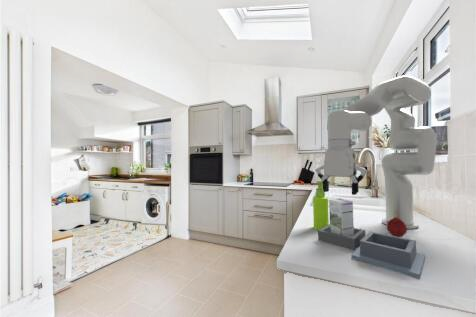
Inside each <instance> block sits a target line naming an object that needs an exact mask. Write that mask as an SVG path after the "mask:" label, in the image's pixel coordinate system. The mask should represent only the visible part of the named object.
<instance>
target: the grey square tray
mask: <svg viewBox="0 0 476 317" xmlns="http://www.w3.org/2000/svg"><path fill="white" fill-rule="evenodd" d="M365 236H366V229H361V228H357V227H354V236H352V237H349V236H344V235H340V234H336V233H331V232H330V223H329V225H327V226H325V227H324V228H322V229H320V230H317V241H320V242H323V241H324V242H323V243H326V242H327V244H331V245H335V246H339V247H341V248H345V249H349V250H352V251H356V250H357V249H358V248H359V247H360V240H361V239H362V238H364V237H365Z"/></svg>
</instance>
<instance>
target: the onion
mask: <svg viewBox="0 0 476 317" xmlns="http://www.w3.org/2000/svg"><path fill="white" fill-rule="evenodd" d="M386 230H387V231H388V233H389V234H391V236H396V237H401V238H402V237H403V236H404V235H406V233H407V230H408V229H407V227H406V225H405V223H404V222H403V221H402V220H400V219H399V218H398V217H397V216H395V217H394V218H393V219H391V220H390V221H389V222H388V223H387V225H386Z"/></svg>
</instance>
